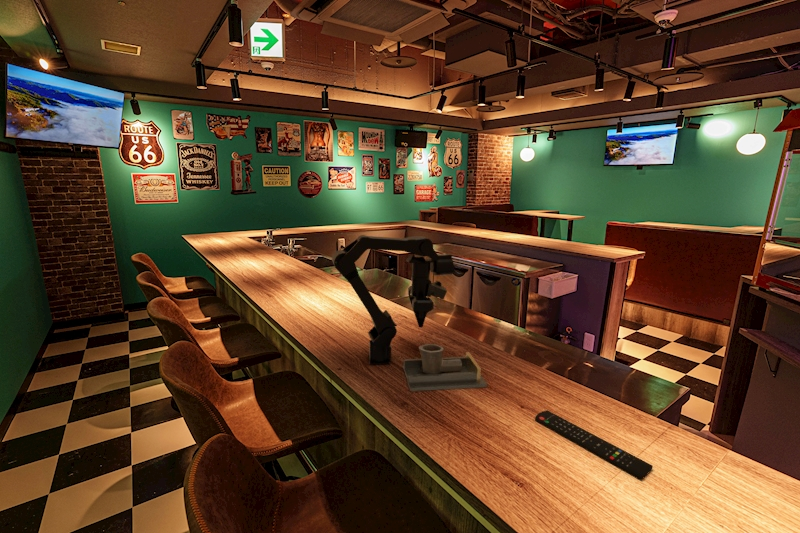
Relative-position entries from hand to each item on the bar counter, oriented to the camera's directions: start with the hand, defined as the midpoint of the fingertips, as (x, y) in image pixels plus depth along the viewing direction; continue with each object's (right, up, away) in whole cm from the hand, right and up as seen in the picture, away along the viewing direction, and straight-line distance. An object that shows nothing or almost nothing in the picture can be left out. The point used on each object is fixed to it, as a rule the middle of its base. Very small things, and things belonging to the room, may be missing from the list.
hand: (419, 322), depth 123 cm
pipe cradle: (+7, -15, -11) cm, 20 cm away
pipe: (+6, -14, -11) cm, 18 cm away
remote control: (+35, -22, -39) cm, 57 cm away
